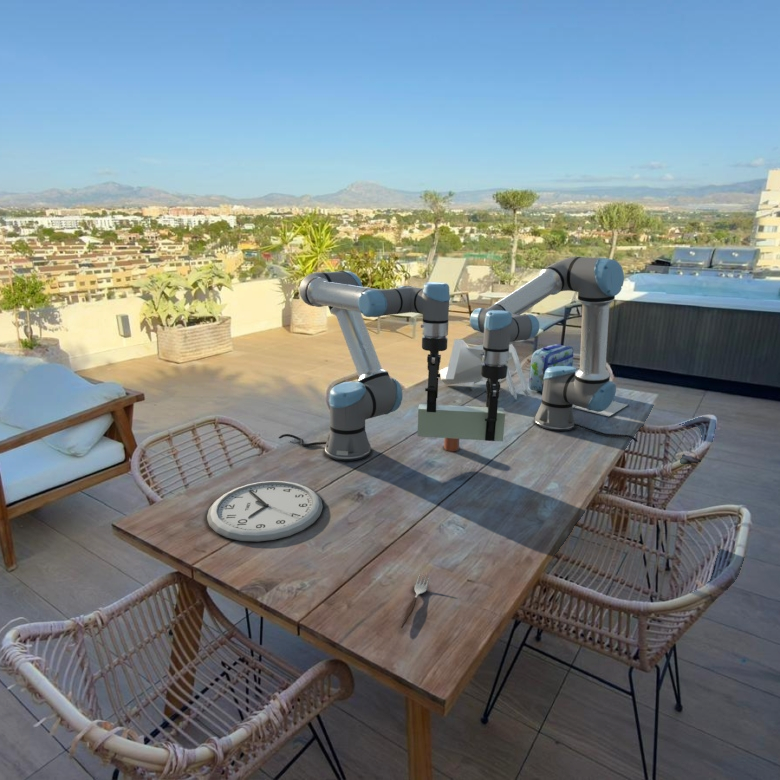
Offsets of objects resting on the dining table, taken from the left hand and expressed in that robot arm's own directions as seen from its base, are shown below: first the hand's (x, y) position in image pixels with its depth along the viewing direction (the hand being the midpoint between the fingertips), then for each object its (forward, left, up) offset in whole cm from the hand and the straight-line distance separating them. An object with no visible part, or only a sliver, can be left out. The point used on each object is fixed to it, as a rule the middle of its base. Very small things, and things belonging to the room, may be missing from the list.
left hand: (432, 404), depth 160 cm
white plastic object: (-16, +84, -21) cm, 88 cm away
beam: (+8, +4, -10) cm, 13 cm away
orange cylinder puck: (0, +18, -21) cm, 27 cm away
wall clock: (-25, -47, -21) cm, 58 cm away
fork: (+26, -58, -21) cm, 67 cm away
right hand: (+16, +7, -10) cm, 20 cm away
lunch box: (+10, +108, -21) cm, 110 cm away
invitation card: (+36, +94, -21) cm, 103 cm away
